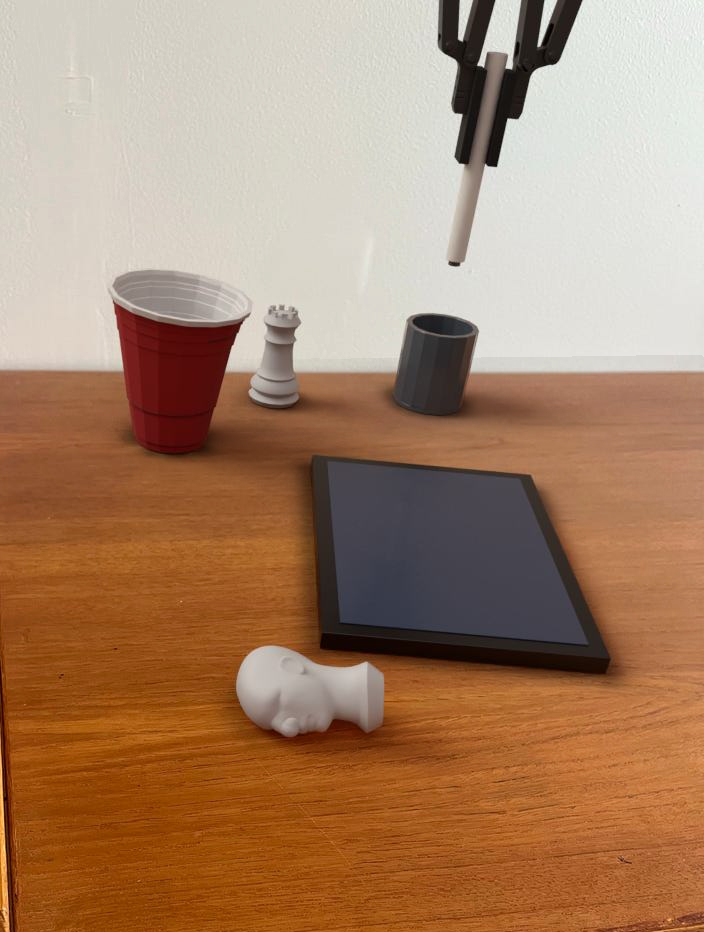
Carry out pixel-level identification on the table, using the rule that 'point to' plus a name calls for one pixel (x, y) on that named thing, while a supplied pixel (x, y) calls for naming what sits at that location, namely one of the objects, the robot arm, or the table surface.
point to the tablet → (445, 567)
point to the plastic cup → (174, 351)
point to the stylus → (476, 160)
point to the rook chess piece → (277, 361)
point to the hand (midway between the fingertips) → (475, 161)
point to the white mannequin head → (307, 692)
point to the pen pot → (435, 363)
